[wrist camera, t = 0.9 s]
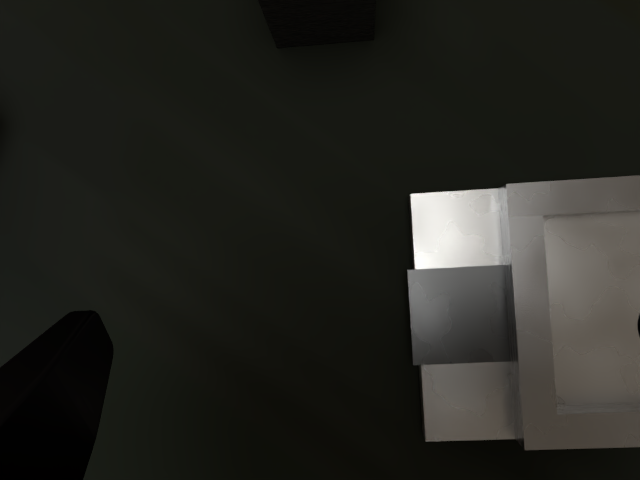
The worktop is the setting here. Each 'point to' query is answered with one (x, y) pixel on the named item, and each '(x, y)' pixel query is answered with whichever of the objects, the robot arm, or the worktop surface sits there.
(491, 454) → the worktop surface
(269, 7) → the grey rectangular block
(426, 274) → the grey tray
